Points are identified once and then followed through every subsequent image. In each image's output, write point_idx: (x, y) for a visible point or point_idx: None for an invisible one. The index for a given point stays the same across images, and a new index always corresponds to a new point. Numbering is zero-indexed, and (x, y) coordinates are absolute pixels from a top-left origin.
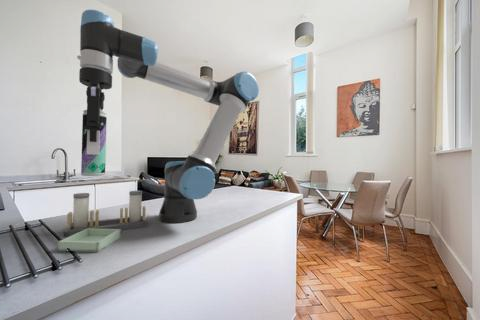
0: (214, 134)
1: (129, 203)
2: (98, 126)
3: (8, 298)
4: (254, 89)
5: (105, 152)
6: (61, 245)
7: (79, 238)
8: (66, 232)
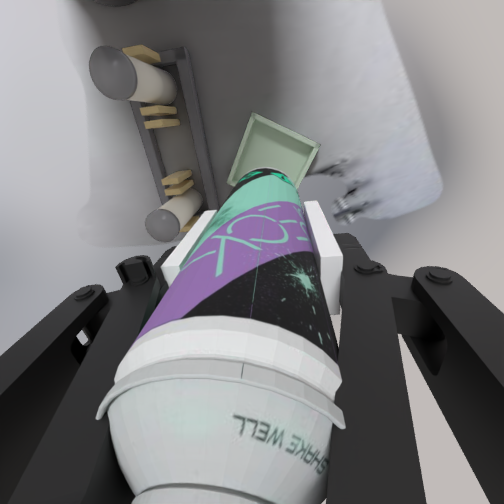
0: None
1: (142, 100)
2: (385, 274)
3: (405, 211)
4: None
5: (260, 186)
6: None
7: None
8: None
